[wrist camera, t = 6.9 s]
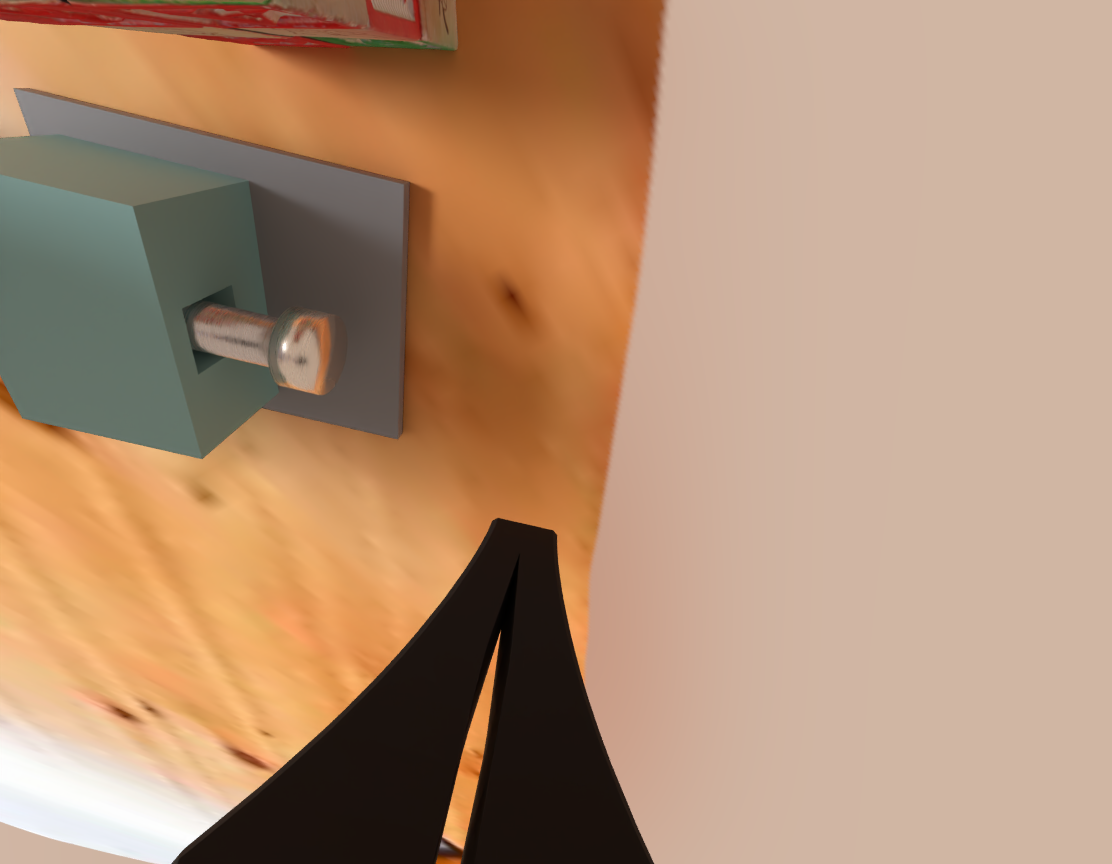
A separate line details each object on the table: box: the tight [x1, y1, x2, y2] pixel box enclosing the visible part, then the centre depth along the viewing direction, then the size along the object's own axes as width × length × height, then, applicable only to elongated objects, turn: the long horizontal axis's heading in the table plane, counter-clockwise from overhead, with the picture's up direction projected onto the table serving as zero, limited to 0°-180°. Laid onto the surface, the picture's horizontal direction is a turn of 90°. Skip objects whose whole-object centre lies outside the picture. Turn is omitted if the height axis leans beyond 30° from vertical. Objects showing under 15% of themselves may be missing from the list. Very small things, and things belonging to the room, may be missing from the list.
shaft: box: [182, 300, 348, 395], centre depth 16 cm, size 11×3×3 cm, turn 78°
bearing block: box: [0, 88, 410, 459], centre depth 16 cm, size 12×10×5 cm
